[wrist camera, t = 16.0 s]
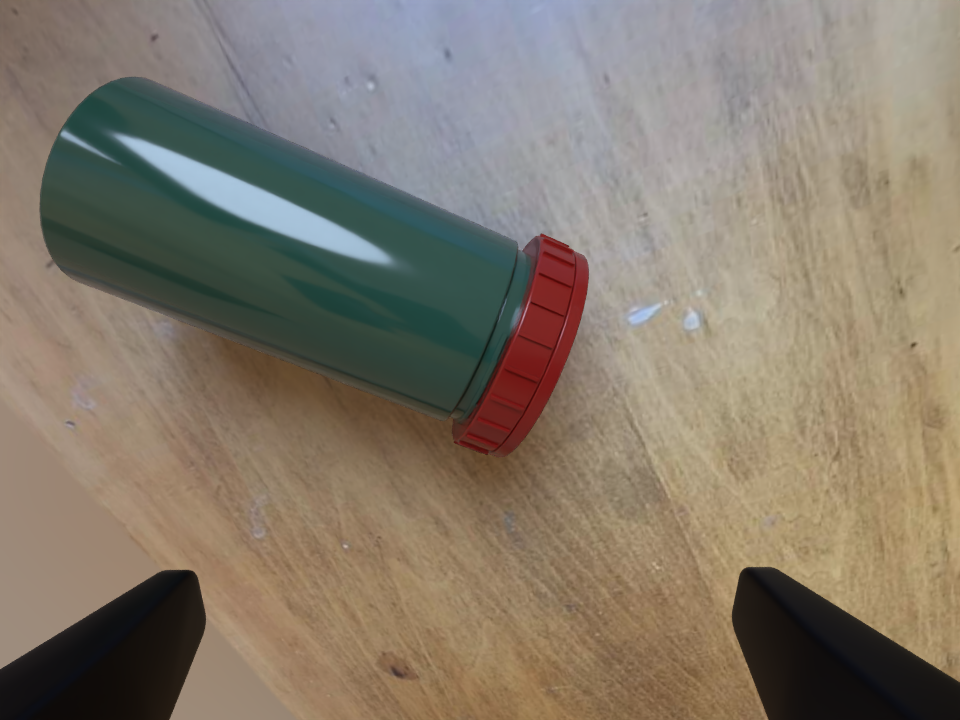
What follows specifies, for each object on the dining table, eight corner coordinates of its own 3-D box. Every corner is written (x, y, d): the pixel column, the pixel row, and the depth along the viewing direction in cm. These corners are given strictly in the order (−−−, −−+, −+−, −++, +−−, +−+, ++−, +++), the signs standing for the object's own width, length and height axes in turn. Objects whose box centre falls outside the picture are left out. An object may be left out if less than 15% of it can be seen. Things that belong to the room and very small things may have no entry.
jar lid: (490, 299, 21) (524, 313, 21) (435, 461, 18) (475, 475, 18) (562, 186, 14) (609, 208, 15) (496, 406, 11) (555, 429, 12)
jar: (-3, 147, 10) (540, 368, 12) (172, 40, 14) (567, 219, 16) (79, 323, 15) (462, 466, 17) (194, 207, 19) (498, 333, 20)
